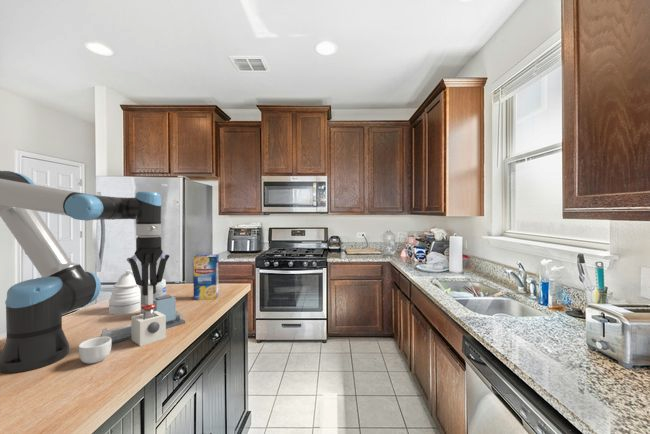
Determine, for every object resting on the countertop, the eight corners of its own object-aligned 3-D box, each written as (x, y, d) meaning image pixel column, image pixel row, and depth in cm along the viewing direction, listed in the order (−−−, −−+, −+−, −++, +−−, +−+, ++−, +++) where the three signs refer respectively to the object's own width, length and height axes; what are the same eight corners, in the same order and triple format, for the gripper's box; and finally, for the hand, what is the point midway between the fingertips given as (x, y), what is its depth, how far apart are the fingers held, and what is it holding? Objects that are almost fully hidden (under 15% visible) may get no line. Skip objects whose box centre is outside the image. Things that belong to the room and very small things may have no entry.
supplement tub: (169, 315, 125) (169, 281, 125) (143, 320, 119) (143, 284, 118) (162, 309, 132) (162, 277, 132) (138, 314, 126) (138, 280, 125)
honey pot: (149, 307, 135) (149, 269, 135) (118, 316, 123) (118, 274, 123) (133, 303, 141) (133, 266, 141) (102, 311, 129) (102, 271, 129)
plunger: (144, 330, 98) (144, 308, 98) (139, 326, 101) (139, 305, 101) (158, 326, 101) (158, 304, 101) (153, 323, 104) (153, 302, 104)
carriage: (156, 324, 110) (156, 299, 110) (151, 321, 113) (151, 297, 113) (175, 319, 116) (175, 296, 116) (170, 316, 119) (170, 294, 118)
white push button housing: (140, 346, 95) (140, 322, 95) (131, 339, 100) (131, 316, 100) (166, 338, 101) (166, 315, 101) (156, 332, 107) (156, 310, 107)
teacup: (100, 366, 83) (100, 347, 83) (71, 367, 82) (71, 348, 82) (121, 350, 93) (121, 333, 93) (95, 351, 92) (95, 334, 92)
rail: (109, 344, 96) (109, 335, 96) (100, 336, 103) (100, 328, 103) (185, 323, 116) (185, 315, 116) (173, 317, 122) (173, 310, 122)
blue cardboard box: (216, 299, 149) (216, 256, 149) (193, 300, 147) (193, 256, 147) (218, 295, 156) (218, 254, 156) (197, 296, 154) (197, 254, 154)
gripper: (131, 238, 93) (131, 311, 94) (173, 235, 104) (173, 301, 104) (123, 236, 98) (123, 306, 98) (164, 234, 108) (164, 297, 108)
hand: (149, 303), depth 101 cm, fingers closed
